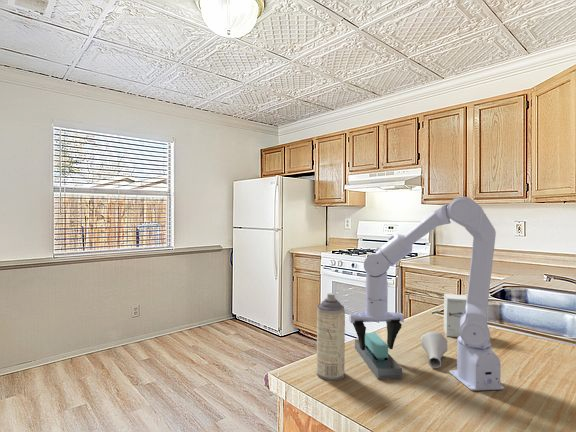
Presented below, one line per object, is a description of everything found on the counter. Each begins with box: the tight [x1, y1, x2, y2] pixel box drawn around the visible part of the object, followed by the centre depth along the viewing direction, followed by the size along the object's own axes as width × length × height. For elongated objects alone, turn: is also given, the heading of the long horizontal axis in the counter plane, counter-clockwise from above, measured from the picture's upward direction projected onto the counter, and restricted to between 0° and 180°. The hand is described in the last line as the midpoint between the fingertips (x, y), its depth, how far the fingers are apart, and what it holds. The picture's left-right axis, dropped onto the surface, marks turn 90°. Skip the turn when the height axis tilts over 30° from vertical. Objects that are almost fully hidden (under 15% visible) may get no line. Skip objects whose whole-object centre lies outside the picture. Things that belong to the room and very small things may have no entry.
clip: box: [365, 332, 389, 360], centre depth 97 cm, size 10×3×6 cm, turn 5°
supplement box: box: [443, 293, 467, 338], centre depth 119 cm, size 7×7×13 cm
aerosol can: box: [316, 292, 346, 381], centre depth 89 cm, size 7×7×20 cm
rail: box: [354, 339, 403, 380], centre depth 97 cm, size 20×6×2 cm, turn 5°
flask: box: [420, 331, 448, 369], centre depth 97 cm, size 7×7×10 cm
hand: (376, 348), depth 97 cm, fingers open, 7 cm apart
